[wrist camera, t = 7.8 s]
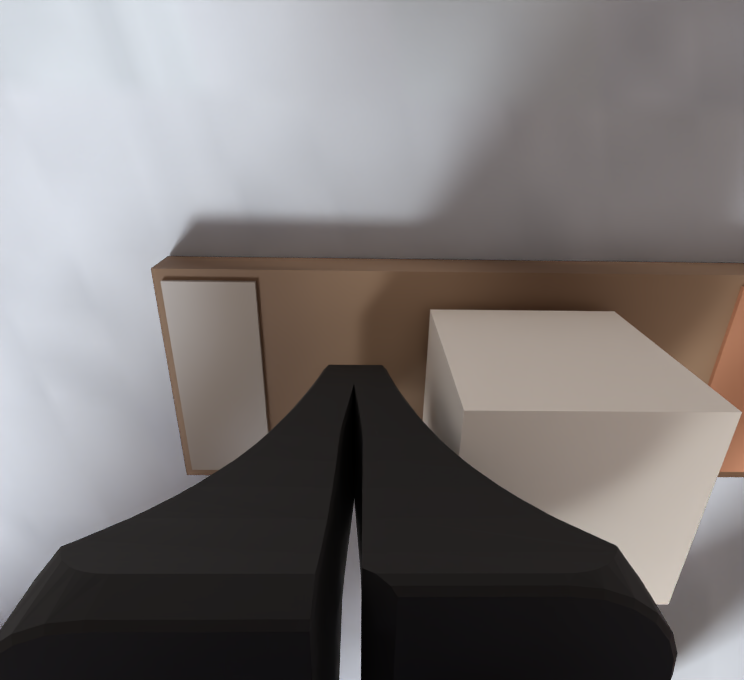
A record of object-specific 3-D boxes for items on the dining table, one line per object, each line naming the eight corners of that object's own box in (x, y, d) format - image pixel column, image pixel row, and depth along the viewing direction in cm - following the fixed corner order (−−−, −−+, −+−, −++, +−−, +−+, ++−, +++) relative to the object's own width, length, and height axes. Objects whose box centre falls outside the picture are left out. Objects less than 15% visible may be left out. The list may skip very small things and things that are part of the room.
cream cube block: (419, 460, 12) (443, 604, 9) (430, 309, 11) (464, 410, 7) (579, 460, 12) (669, 604, 9) (614, 311, 11) (742, 412, 7)
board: (198, 450, 14) (185, 477, 13) (167, 255, 11) (148, 269, 10) (732, 453, 14) (761, 479, 13) (807, 263, 12) (848, 277, 11)
